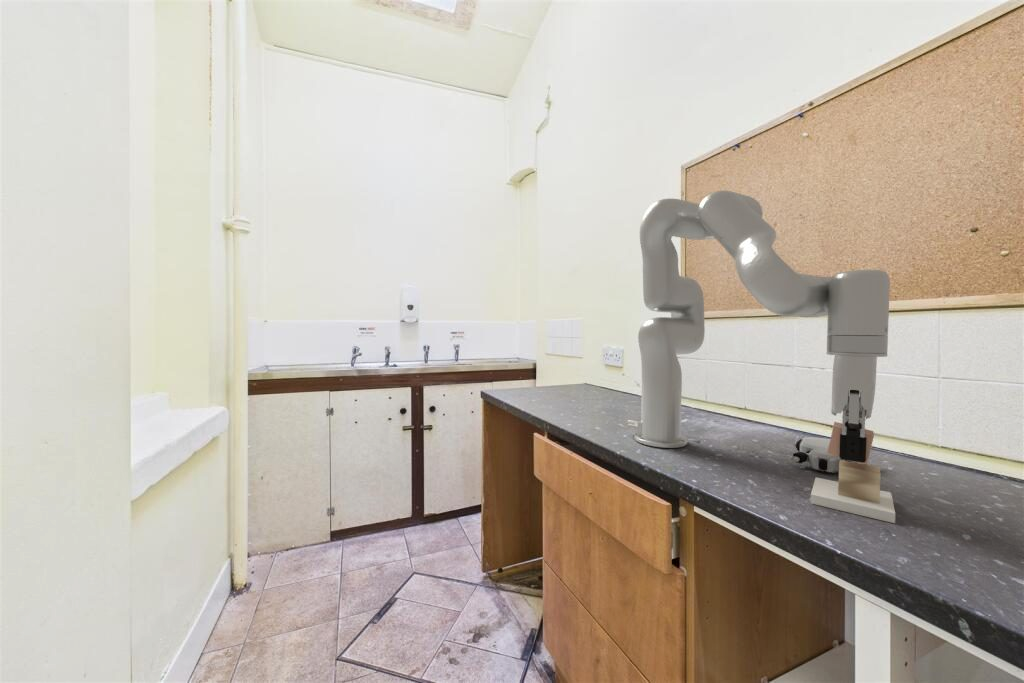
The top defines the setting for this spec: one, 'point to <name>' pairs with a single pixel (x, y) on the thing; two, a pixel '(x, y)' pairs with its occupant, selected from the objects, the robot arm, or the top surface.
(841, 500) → the base plate
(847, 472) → the beech brick
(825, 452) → the robot toy
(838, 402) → the robot arm
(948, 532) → the top surface
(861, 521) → the top surface
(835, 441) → the clay brick
